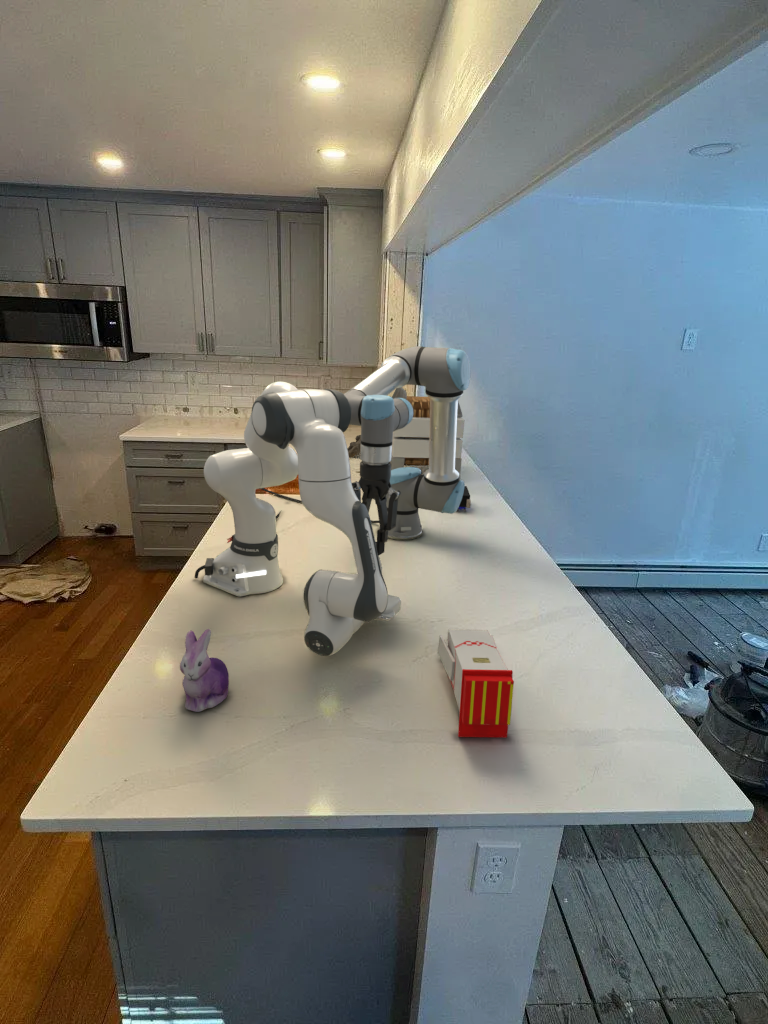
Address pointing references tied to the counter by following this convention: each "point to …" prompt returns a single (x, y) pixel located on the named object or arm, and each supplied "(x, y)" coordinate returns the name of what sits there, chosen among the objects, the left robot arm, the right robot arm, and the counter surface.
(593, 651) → the counter surface
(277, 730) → the counter surface
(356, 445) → the fossil
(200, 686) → the figurine
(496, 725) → the toy
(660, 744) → the counter surface
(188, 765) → the counter surface
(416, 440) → the gray slatted crate
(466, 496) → the figurine character
